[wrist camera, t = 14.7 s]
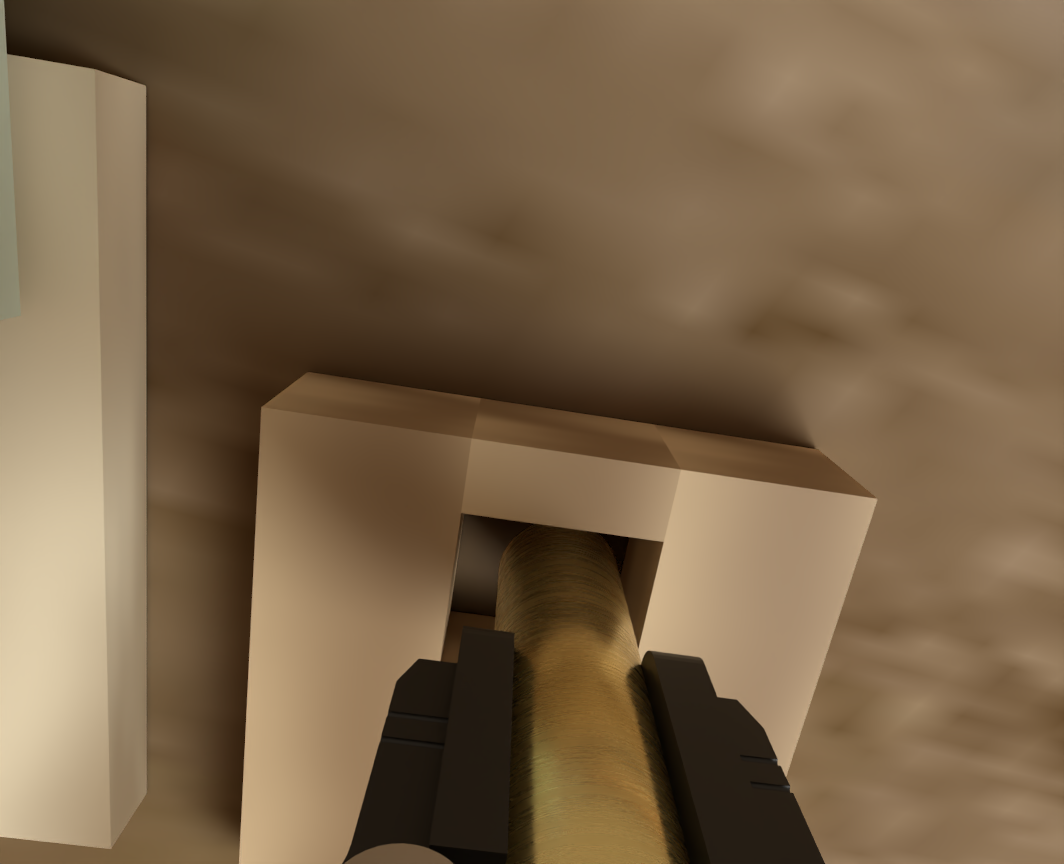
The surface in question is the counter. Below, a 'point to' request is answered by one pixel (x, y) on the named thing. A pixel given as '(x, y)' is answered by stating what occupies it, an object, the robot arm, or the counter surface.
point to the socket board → (520, 495)
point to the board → (74, 460)
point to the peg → (580, 711)
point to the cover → (7, 195)
